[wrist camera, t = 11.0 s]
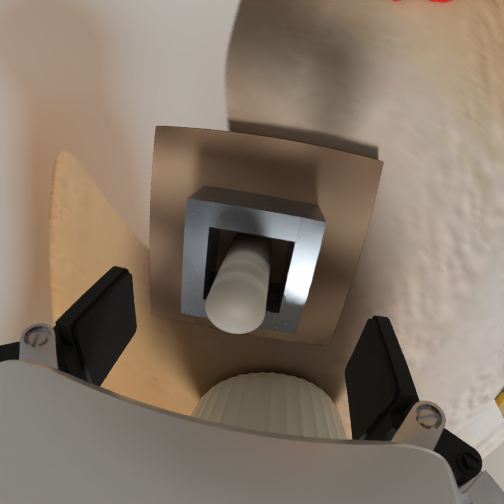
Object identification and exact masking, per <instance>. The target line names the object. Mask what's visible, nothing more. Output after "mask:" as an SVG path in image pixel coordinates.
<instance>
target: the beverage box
mask: <svg viewBox="0 0 504 504" xmlns="http://www.w3.org/2000/svg"><path fill="white" fill-rule="evenodd" d="M494 400H495V402H496V403H497V405H498V407H499V409H500V411H501V413H502V415H503V418H504V391H503V392H502V393H501V394H500V395H499V396H498V397H497V398H495V399H494Z"/></svg>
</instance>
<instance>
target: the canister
mask: <svg viewBox="0 0 504 504" xmlns="http://www.w3.org/2000/svg"><path fill="white" fill-rule="evenodd" d="M191 417H195V418H199V419H203V420H207V421H212V422H216V423H221V424H225V425H230V426H235V427H241V428H246V429H252V430H258V431H265V432H271V433H279V434H286V435H295V436H305V437H317V438H331V439H347V437H346V434H345V430H344V427H343V424H342V420H341V417H340V414H339V412H338V409H337V407H336V406H335V404H334V403H333V401H332V400H331V398H330V397H329V396H328V395H327V394H326V393H325V392H324V391H323V390H322V389H321V388H319V387H317V386H316V385H315V384H313V383H310V382H307V381H306V380H305V379H300V378H297V377H295V376H289V375H285V374H284V373H283V374H277V373H274V372H272V373H263V372H260V373H249V374H246V375H243V374H240V375H238V376H236V377H230V378H228V379H227V380H224V381H221V382H219V383H218V384H217V385H215V386H213V387H212V388H211V389H209V391H208V392H207V393H206V394H204V395H203V397H202V398H201V399H200V401H199V402H198V404H197V406H196V407H195V409H194V411H193V412H192V414H191Z"/></svg>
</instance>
